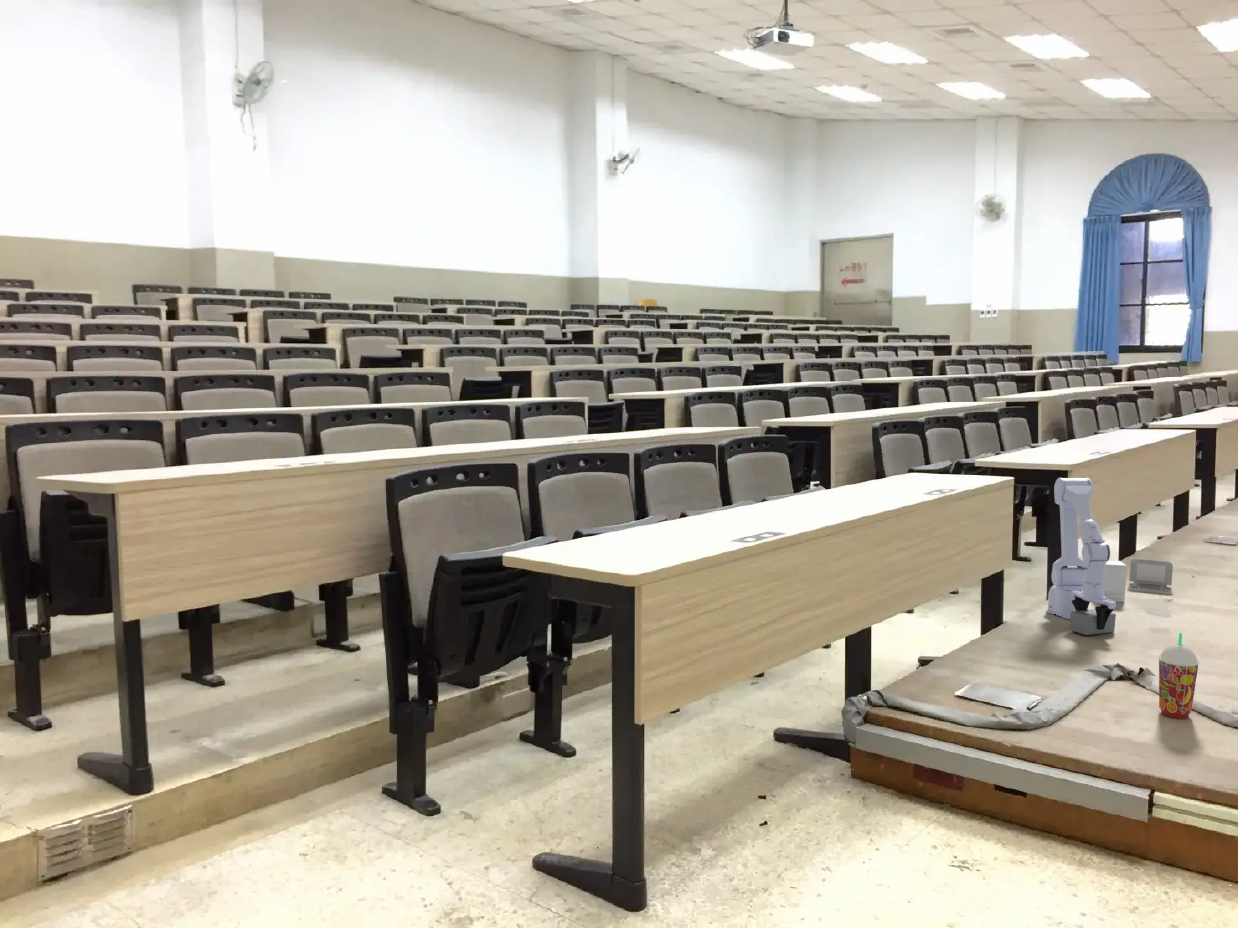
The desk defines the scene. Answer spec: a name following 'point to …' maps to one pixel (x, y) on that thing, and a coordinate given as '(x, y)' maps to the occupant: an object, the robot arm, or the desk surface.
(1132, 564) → the handheld gaming console
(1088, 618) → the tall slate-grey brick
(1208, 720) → the desk surface
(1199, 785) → the desk surface
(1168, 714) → the smoothie
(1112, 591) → the supplement box
